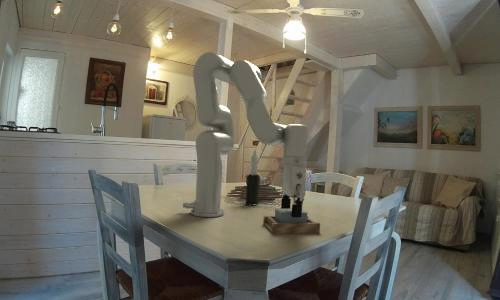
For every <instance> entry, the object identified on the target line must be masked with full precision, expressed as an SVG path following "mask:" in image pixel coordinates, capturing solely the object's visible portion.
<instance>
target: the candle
mask: <svg viewBox="0 0 500 300" xmlns="http://www.w3.org/2000/svg"><path fill="white" fill-rule="evenodd" d="M250 159H251V160H250V161H251V162H250V173H249V174H248V175H247V176H246V193H245V194H246V195H245V205H248V204H257V205H259V201H260V200H259V199H260V185H261V184H260V181H261V176H260V175H259V174H258V159H259V157H258V155H257V149H254V150H253V154H252V155H251V158H250Z"/></svg>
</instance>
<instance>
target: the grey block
mask: <svg viewBox="0 0 500 300" xmlns="http://www.w3.org/2000/svg"><path fill="white" fill-rule="evenodd" d="M291 214H292V207H290V208H281V207H278V208H274V216H275V221H276V222H277V223H307V216H308V211H305V210H303V209H302V216H301V217H292V216H291Z"/></svg>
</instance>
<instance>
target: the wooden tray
mask: <svg viewBox="0 0 500 300" xmlns="http://www.w3.org/2000/svg"><path fill="white" fill-rule="evenodd" d="M262 225H263V226H264V227H265V228H266V229H267V230H268V231H269V232H270V233H271V234H272V235H273V234H274V235H275V234H277V235H278V234H310V233H311V234H319V233H321V231H320V230H321V222H316V221H314V220H312V219H311V218H309V215H307V223H277V222H276V221H275V215H263V223H262Z"/></svg>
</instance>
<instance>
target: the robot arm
mask: <svg viewBox="0 0 500 300" xmlns="http://www.w3.org/2000/svg"><path fill="white" fill-rule="evenodd" d="M192 74H193V75H192V76H193V84H194V90H195V91H194V92H195V102H196V103H195V105H196V116H197V121H198V123H199V124H200V125H201V126H203V127H208V128H212V129H211V130H210V129H209V130H208V129H207V130H203V131H202V132H200V133H199V134H198V135H197V137H196V140H195V151H196V181H195V182H196V184H195V185H196V186H195V199H194V200H193V201H191V202H182V208H183V209H190V214H191V215H193V216H196V217H199V218H200V217H202V218H217V217H221V216H223V215H225V210H224V209H222V208H221V201H222V197H221V196H222V186H223V185H222V184H223V183H222V181H223V180H222V179H223V162H222V157H221V156H227V155H228V154H230V153H232V151H233V150H234V147H235V131H234V121H233V120H234V119H233V115H232V112H231V111H230V109H229V108H228V107H226V106H225V105H222V104H221V103H220V100H219V99H220V98H219V91H218V87H217V85H216V82H215V79H217V80H219V81H221V82H223V83H227V84H231V85H235V87H236V89H237V92H238V93H239V95H240V97H241V98H242V101H243V102H244V105H245V114H246V119H247V122H248V125H249V126H250V128H251V130H252V132H253V135H254V136H255V138H256V139H257V140H258V142H260V143H261V144H263V145H267V146H283V149H282V151H283V152H282V163H281V164H282V166H283V171H282V179H281V202H280V203H281V205H280V208H292V214H291V216H292V217H301V216H302V210H303V204H304V200H305V199H304V198H305V197H306V188H307V187H306V182H307V181H306V178H307V177H306V165H307V164H306V163H307V149H308V148H307V147H308V146H307V145H308V133H309V132H308V131H309V130H308V127H307V126H306V125H305V124H296V123H295V124H293V123H290V124H287V125H285V124H280V123H276V122H274V121H273V120H272V117H271V115H270V114H269V112H268V109H267V107H266V99H268V98H267V97H268V93H267V91H266V89H265V88H264V86H263V84H262V78H263V76H262V73H261V71H260V69H259V68H258V67H257V66H256V65H255V64H252V63H251V62H250V61H248V60H244V59H238V60H235V61H231V60H229V59H228V58H226V57H224V56H223V55H221V54H218V53H216V52H213V51H207V52H204V53H203V54H201V55H200V56H199V57H198V59H197V60H196V61H195V63H194V67H193V71H192ZM291 200H292V201H291ZM291 202H292V203H293V204H291Z"/></svg>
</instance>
